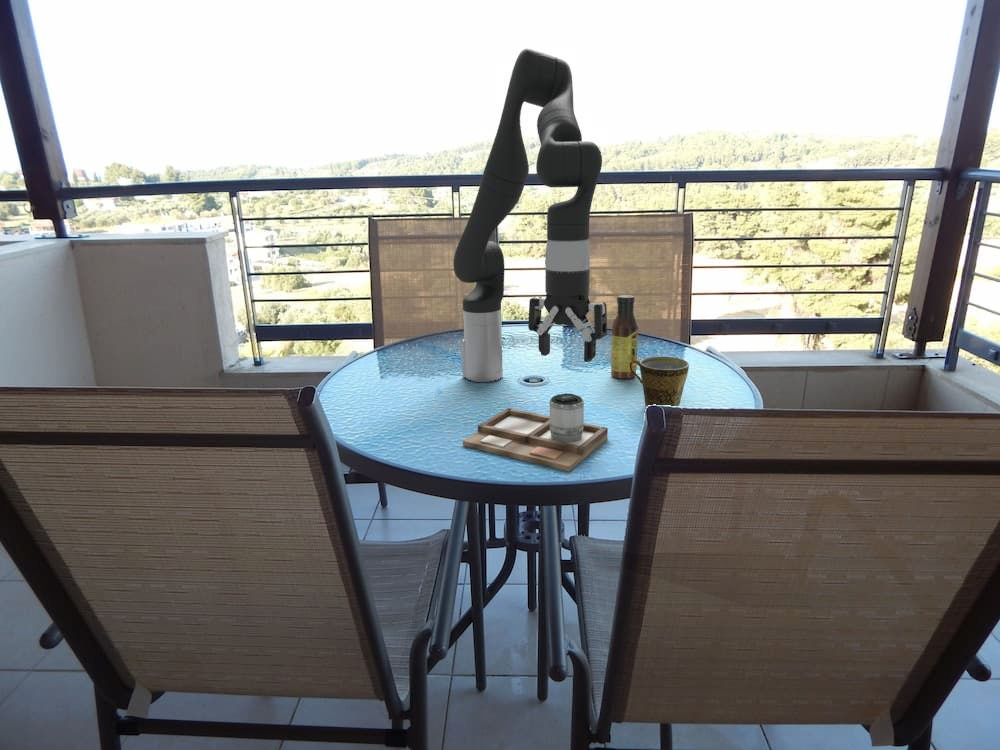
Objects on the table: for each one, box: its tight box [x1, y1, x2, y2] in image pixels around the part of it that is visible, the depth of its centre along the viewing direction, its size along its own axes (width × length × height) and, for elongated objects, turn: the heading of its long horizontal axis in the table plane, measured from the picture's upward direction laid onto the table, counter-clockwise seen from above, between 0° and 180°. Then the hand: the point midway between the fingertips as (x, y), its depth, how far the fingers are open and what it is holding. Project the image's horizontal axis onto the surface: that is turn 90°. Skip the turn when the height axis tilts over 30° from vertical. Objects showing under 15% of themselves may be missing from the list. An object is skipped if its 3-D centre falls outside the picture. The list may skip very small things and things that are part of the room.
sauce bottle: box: [610, 294, 639, 380], centre depth 151 cm, size 6×6×20 cm
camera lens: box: [549, 392, 585, 442], centre depth 115 cm, size 6×6×8 cm
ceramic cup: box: [630, 355, 690, 407], centre depth 132 cm, size 13×10×10 cm
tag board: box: [462, 407, 609, 473], centre depth 117 cm, size 22×16×2 cm
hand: (566, 357), depth 111 cm, fingers open, 8 cm apart
